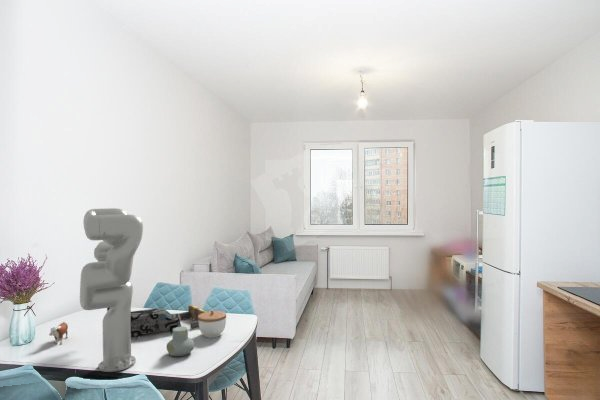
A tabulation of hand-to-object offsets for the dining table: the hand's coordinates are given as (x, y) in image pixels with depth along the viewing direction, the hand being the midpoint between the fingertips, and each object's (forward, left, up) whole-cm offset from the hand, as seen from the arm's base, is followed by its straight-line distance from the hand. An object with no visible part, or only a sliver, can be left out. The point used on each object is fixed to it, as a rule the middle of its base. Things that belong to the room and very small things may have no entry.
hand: (108, 308), depth 167 cm
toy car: (-1, -19, -15) cm, 24 cm away
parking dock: (-1, -38, -15) cm, 41 cm away
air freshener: (-34, -18, -15) cm, 41 cm away
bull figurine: (+14, +16, -15) cm, 26 cm away
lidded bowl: (-23, -38, -15) cm, 47 cm away
